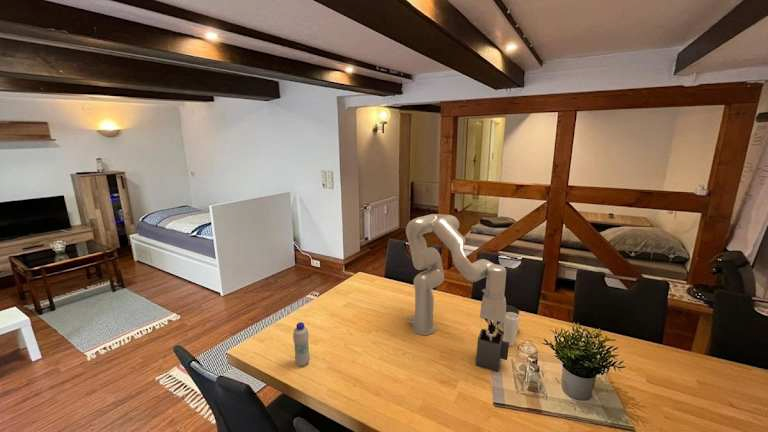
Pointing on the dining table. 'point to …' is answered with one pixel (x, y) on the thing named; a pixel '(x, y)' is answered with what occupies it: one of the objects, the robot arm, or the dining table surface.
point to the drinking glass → (511, 327)
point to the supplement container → (508, 309)
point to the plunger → (491, 335)
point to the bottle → (301, 344)
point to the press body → (491, 351)
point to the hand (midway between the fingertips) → (491, 332)
